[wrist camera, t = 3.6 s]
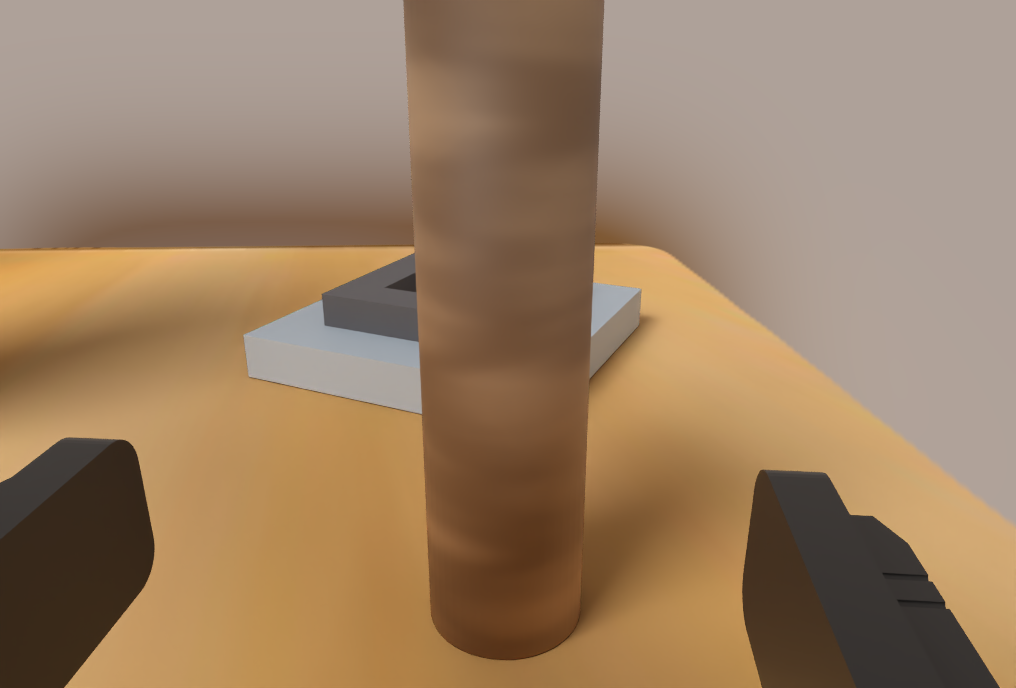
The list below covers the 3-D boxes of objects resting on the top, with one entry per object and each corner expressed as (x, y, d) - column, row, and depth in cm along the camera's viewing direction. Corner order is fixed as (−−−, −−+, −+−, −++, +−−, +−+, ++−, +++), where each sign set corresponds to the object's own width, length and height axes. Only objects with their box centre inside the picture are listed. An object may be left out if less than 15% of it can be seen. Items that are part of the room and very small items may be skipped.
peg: (402, 630, 20) (362, -8, 15) (473, 545, 24) (463, 0, 18) (546, 680, 19) (560, -14, 13) (600, 581, 22) (630, -3, 17)
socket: (248, 376, 36) (239, 302, 34) (412, 291, 47) (409, 234, 46) (534, 438, 30) (536, 353, 29) (639, 324, 42) (643, 260, 41)
